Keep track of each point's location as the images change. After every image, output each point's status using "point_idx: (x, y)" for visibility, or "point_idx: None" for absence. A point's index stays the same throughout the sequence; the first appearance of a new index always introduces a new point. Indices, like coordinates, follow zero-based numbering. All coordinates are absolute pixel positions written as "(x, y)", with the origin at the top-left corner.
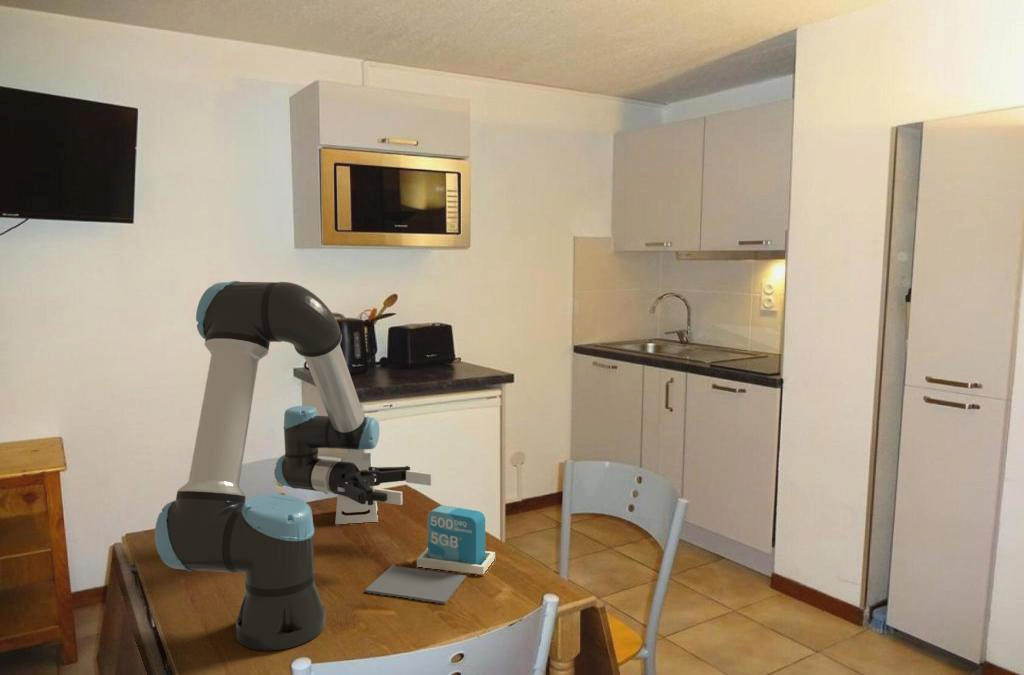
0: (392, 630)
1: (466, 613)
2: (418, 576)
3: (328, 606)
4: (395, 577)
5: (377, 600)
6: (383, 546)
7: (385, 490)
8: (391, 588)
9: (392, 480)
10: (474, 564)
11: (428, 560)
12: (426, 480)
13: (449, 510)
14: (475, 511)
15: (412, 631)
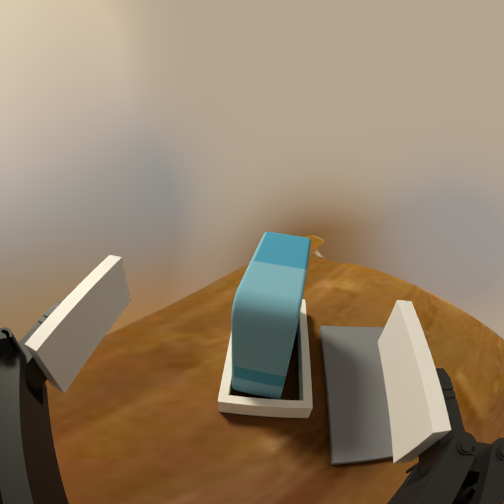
0: (481, 354)
1: None
2: (360, 390)
3: None
4: (383, 426)
5: None
6: None
7: (431, 366)
8: None
9: (51, 455)
10: (300, 310)
11: (311, 384)
12: (116, 296)
13: (282, 270)
14: (270, 236)
15: (469, 336)
